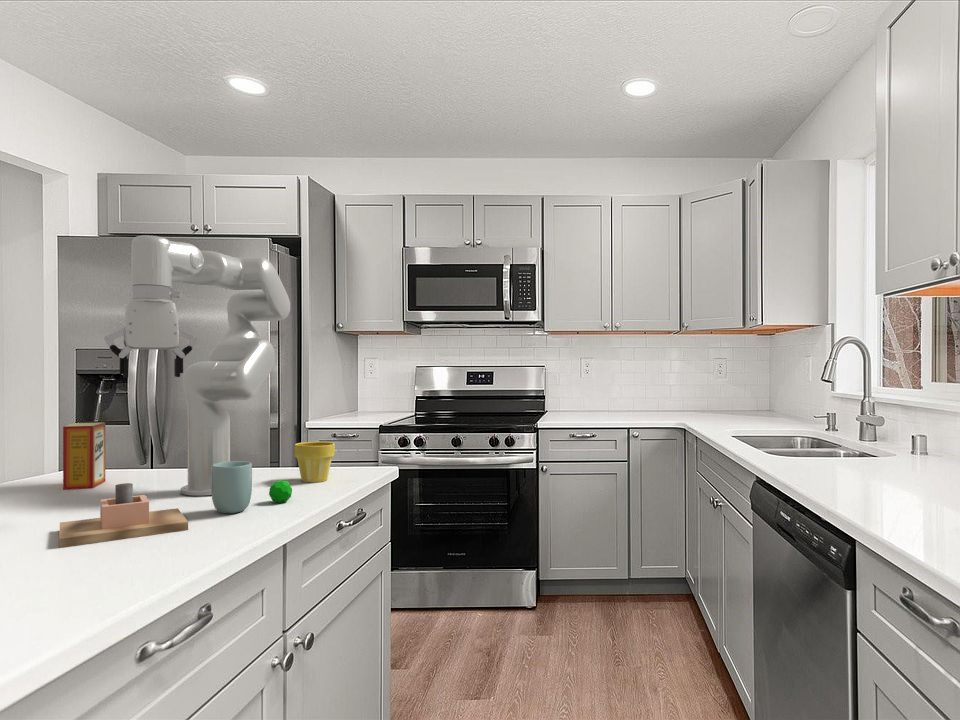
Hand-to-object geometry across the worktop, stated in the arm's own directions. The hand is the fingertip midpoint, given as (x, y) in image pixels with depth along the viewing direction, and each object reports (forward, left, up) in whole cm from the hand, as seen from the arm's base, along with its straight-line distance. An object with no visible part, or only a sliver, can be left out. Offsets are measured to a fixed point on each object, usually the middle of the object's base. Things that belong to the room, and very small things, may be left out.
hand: (152, 377), depth 130 cm
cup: (-14, +9, -28) cm, 33 cm away
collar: (+6, +13, -27) cm, 30 cm away
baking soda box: (+11, -42, -28) cm, 52 cm away
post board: (+6, +13, -28) cm, 32 cm away
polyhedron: (-25, +6, -29) cm, 38 cm away
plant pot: (-40, -15, -28) cm, 51 cm away
